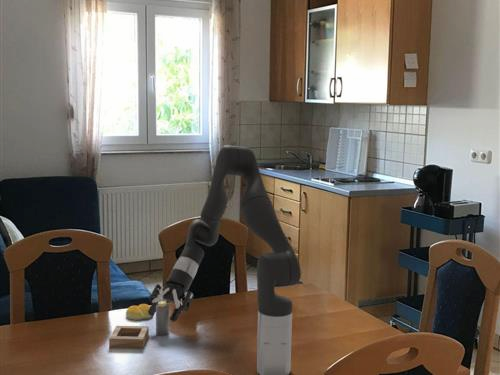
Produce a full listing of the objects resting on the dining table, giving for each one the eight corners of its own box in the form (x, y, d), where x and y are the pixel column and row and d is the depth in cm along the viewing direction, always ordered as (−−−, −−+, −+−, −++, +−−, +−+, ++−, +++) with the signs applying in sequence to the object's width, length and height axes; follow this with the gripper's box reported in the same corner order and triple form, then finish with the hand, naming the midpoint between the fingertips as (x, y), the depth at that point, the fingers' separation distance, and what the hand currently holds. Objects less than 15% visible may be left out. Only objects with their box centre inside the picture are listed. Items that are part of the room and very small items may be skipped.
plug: (167, 335, 185) (167, 305, 183) (155, 335, 185) (155, 304, 183) (169, 331, 189) (169, 300, 187) (157, 330, 189) (156, 300, 187)
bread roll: (123, 314, 203) (123, 303, 203) (149, 311, 207) (149, 299, 206) (129, 322, 196) (129, 311, 195) (155, 318, 199) (155, 307, 199)
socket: (143, 348, 175) (142, 339, 174) (109, 348, 175) (109, 338, 174) (148, 335, 185) (148, 326, 184) (116, 334, 185) (116, 325, 184)
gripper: (160, 264, 195) (137, 308, 186) (196, 271, 188) (174, 317, 179) (170, 276, 200) (148, 319, 192) (205, 283, 193) (184, 328, 185)
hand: (161, 318), depth 186 cm, fingers open, 8 cm apart
